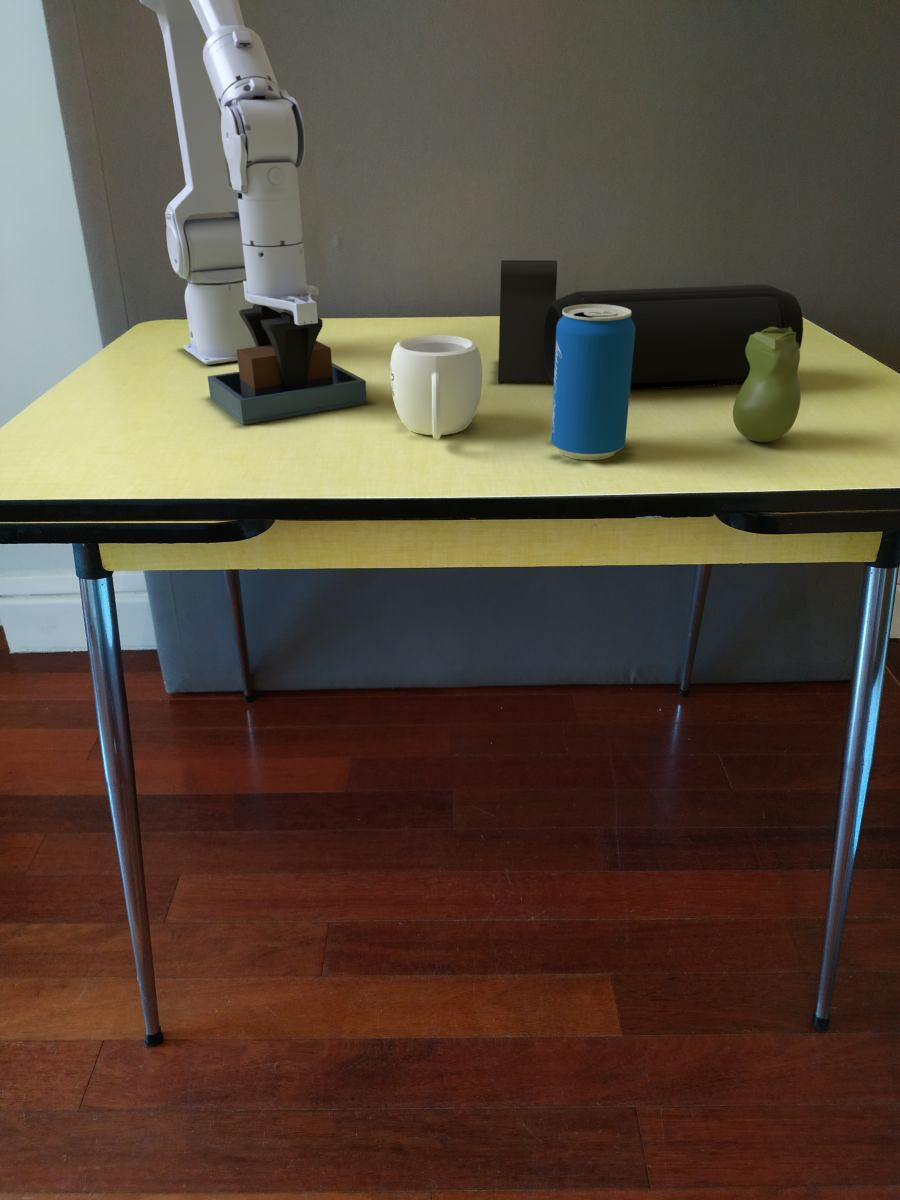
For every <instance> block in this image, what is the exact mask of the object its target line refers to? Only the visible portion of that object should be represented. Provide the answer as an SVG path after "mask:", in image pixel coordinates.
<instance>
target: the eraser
mask: <svg viewBox="0 0 900 1200" xmlns="http://www.w3.org/2000/svg"><path fill="white" fill-rule="evenodd" d="M237 358H238V361H237V365H238V372H239V375H240V383H241V392H242V397H243V398H250V397H256V396H263V395H269V394H275V393H281V392H287V391H285V389H284V386H283V384H282V380H281V377H280V372H279V367H278V363H277V358H276V355H275V352H274V349H273V346H272V345H267V346H260V347H252V348H245V349H238V350H237ZM332 363H333V360H332V348H331V347H330V346H329V345H326V344H324V343H322V342H320V341H318V340H316V342H315V345H314V348H313V352H312V356H311V361H310V368H309V375H308V381H307V386H306V388H313V387H319V386H325V385H331V384H333V372H332Z"/></svg>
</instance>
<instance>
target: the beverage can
mask: <svg viewBox="0 0 900 1200" xmlns="http://www.w3.org/2000/svg"><path fill="white" fill-rule="evenodd" d="M631 313H632V312H631V310H629V309H627V308H625V307H620V306H615V305H605V304H583V305H574V306H569V307H566V308H564V309H563V311H562V314H563V316H562V318H561V319H560V320H559V322H558V324H557V327H556V347H555V368H554V383H553V390H552V391H553V392H552V411H551V412H552V413H551V431H550V432H551V433H550V443H551V445H553V447H554V448H555V449H557V450H558V451H559V453H560V454H561V455H563V456H565V457H568V458H570V459H574V460H581V461H599V460H605V459H609V458H611V457H613V456H614V455H615V454H616V453H617V452H619V451H621V450H622V449H624V447H625V445H626V441H627V440H626V438H627V428H628V427H627V426H628V417H629V406H630V405H629V404H630V396H631V395H630V394H631V390H630V384H631V373H632V362H633V351H634V339H635V325H634V323H633V321H632V319H631V318H630V316H631Z"/></svg>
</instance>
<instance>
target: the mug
mask: <svg viewBox="0 0 900 1200" xmlns="http://www.w3.org/2000/svg"><path fill="white" fill-rule="evenodd" d="M390 356H391V357H390V365H389V371H390V372H389V378H390V389H391V395H392V400H393V403H394V406H395V411H396V413H397V415H398V418H399V419H400V422H401V423H402V424H403V425H404V426H405V427H406V428H407V429H408V431H411V432H413V433H416V434H421V435H424V436H425V435H427V436H432V438H433V439H434V440H436V441H437V440H439V439H441V437H442V436H447V435H452V434H457V433H460V432H462V431H465V430H466V429H467V428H468V427H469V425H470V424H471V423H472V421H473V420H474V419H475V415H476V414H477V411H478V408H479V405H480V404H479V403H480V399H481V394H482V386H483V363H482V355H481V351H480V349H479V347H478V344H477V343H476V342H475V341H473V340H470V339H468V338H465V337H462V336H455V335H443V334H442V335H441V334H429V335H419V336H414V337H413V336H412V337H409V338H405V339H403V340H400V341H398V342H397V343H396V344H395V345H394V347H393V349H392V352H391V355H390Z"/></svg>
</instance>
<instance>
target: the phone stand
mask: <svg viewBox="0 0 900 1200" xmlns="http://www.w3.org/2000/svg"><path fill="white" fill-rule="evenodd" d="M557 283H558V260H524V259H523V260H520V259H519V260H517V259H515V260H512V259H511V260H509V259H508V260H505V259H504V260H503V259H502V260H500V289H499V290H500V292H499V295H500V297H499V327H498V330H499V334H498V369H497V383H498V384H553V385H554V383H552V382H551V381H550V379H549V377H548V375H547V372H546V367H545V362H544V353H543V329H544V321H545V315H546V311H547V308H548V306H549V304H550V303H551V302H553V301H555V300H557Z"/></svg>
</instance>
